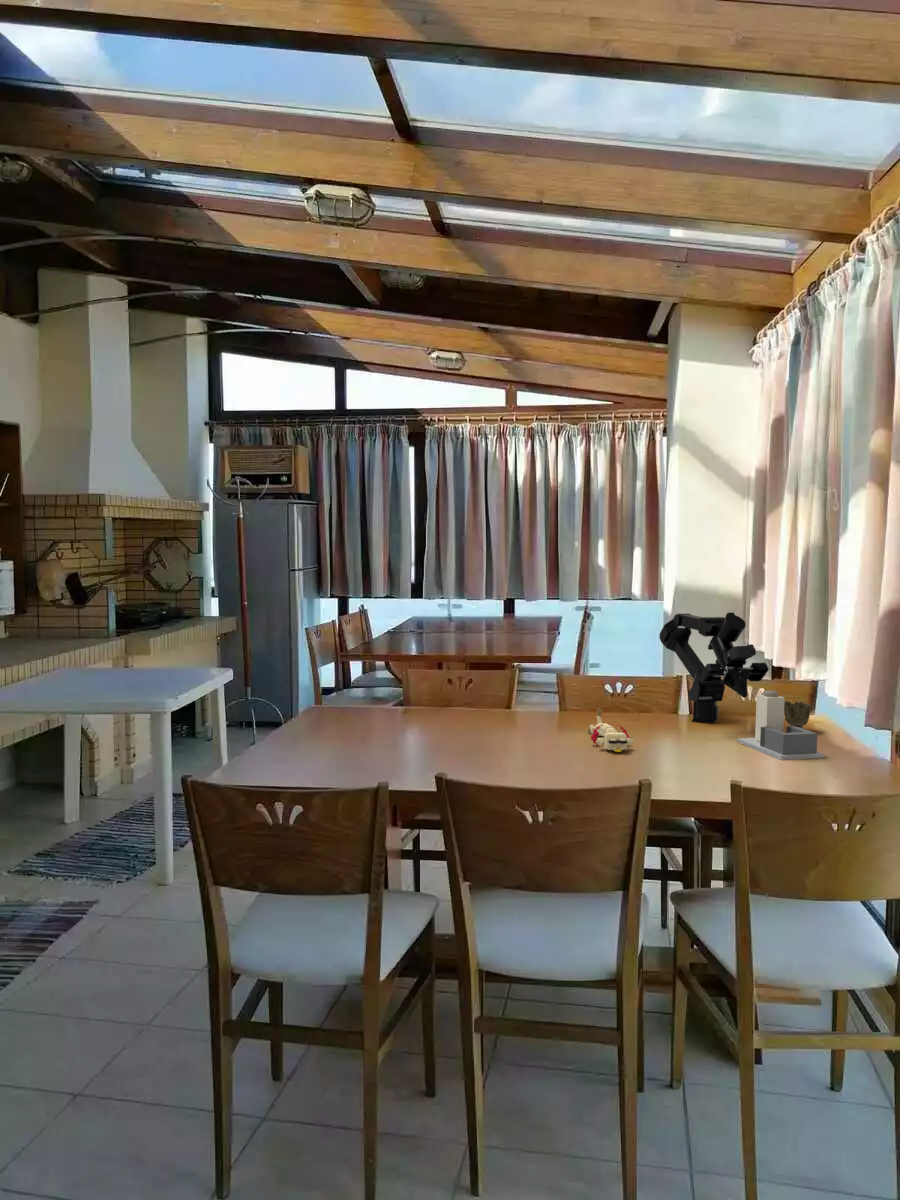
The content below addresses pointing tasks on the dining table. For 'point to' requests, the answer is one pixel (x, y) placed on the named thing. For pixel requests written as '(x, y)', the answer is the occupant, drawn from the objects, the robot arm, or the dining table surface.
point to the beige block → (769, 712)
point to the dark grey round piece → (797, 713)
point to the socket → (785, 743)
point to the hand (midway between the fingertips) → (745, 696)
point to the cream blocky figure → (609, 735)
